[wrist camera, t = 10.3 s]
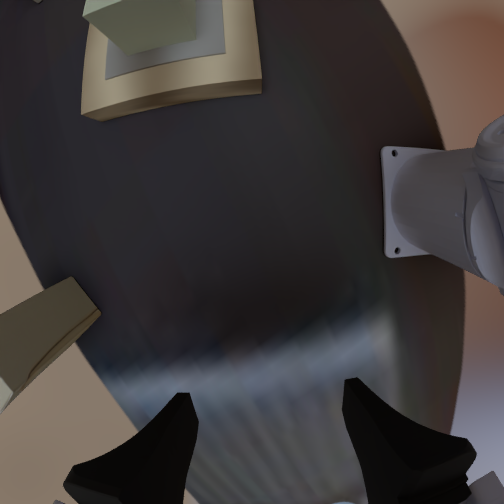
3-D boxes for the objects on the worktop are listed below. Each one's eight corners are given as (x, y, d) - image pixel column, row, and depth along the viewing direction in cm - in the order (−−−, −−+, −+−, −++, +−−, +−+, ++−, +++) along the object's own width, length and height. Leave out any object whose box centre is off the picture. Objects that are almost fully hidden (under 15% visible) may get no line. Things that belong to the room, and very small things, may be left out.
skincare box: (72, 345, 22) (-3, 421, 11) (43, 309, 22) (-42, 370, 10) (104, 311, 21) (14, 397, 10) (71, 271, 21) (-33, 331, 9)
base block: (247, -24, 15) (246, -47, 12) (261, 93, 17) (262, 77, 14) (111, 5, 15) (95, -11, 12) (101, 121, 18) (79, 114, 15)
